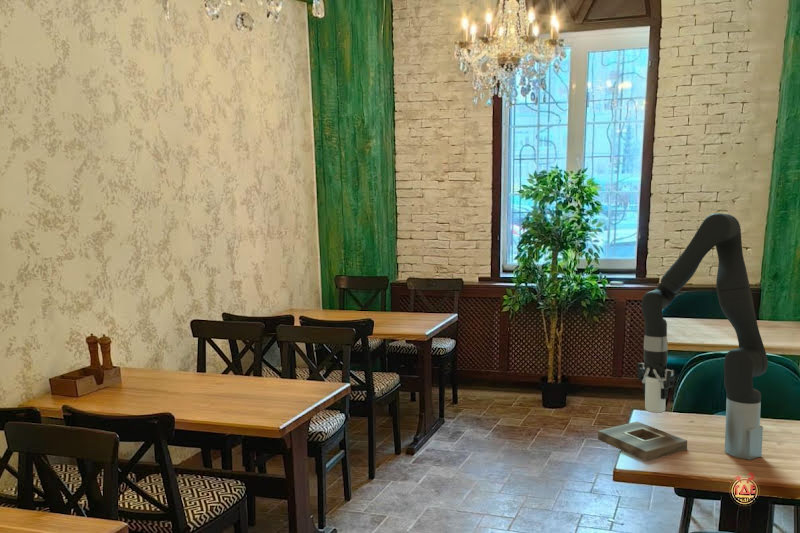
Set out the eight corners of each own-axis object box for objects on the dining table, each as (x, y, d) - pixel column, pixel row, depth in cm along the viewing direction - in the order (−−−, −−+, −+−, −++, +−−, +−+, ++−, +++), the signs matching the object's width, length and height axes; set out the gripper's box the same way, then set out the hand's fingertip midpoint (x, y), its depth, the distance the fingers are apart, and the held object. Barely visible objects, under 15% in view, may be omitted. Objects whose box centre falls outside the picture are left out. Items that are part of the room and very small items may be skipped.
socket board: (687, 449, 196) (687, 439, 196) (646, 461, 188) (646, 450, 188) (636, 429, 214) (637, 420, 214) (597, 439, 206) (597, 430, 206)
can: (667, 413, 210) (667, 378, 209) (647, 412, 211) (647, 378, 210) (663, 407, 216) (663, 373, 216) (643, 407, 218) (643, 373, 217)
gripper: (681, 350, 208) (680, 399, 209) (646, 343, 220) (645, 389, 222) (665, 353, 204) (665, 403, 205) (631, 346, 217) (630, 393, 218)
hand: (655, 396), depth 214 cm, fingers closed on can, 6 cm apart
